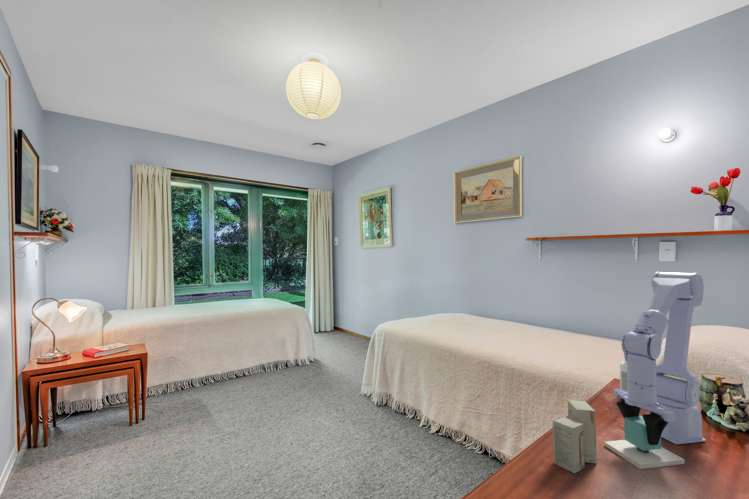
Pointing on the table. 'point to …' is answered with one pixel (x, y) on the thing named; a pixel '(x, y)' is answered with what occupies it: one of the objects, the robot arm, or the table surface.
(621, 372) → the spray bottle
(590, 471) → the table surface
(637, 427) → the teal brick on tray
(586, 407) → the skincare box
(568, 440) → the skincare box
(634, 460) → the post board
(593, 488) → the table surface
